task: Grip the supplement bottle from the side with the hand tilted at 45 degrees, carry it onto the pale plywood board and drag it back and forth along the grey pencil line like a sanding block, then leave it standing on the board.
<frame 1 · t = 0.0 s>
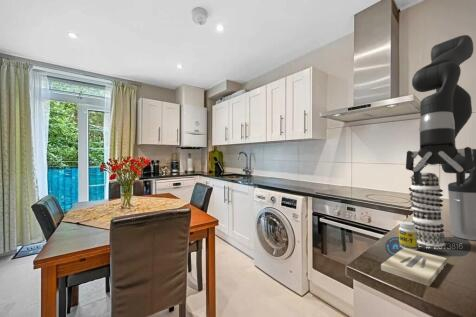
hand: (437, 185, 60), 22 cm above the worktop, tool pointing down, fingers open, 8 cm apart
supplement bottle: (408, 248, 72), on the worktop
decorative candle: (428, 242, 76), on the worktop
board: (414, 266, 59), on the worktop
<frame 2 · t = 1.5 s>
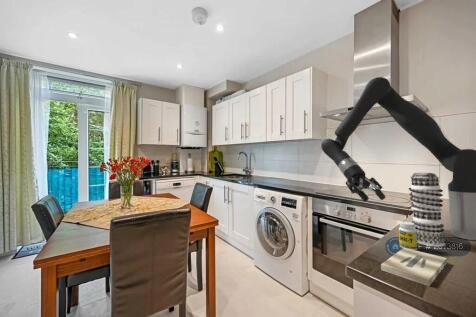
hand: (375, 199, 83), 15 cm above the worktop, tool tilted 45°, fingers open, 8 cm apart
nothing on the worktop moved.
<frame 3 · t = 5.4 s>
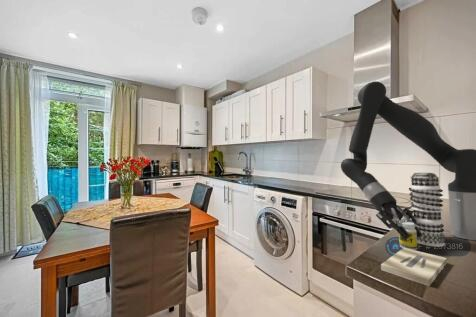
hand: (413, 237, 70), 4 cm above the worktop, tool tilted 45°, fingers closed on supplement bottle, 4 cm apart
supplement bottle: (408, 248, 72), on the worktop, touching gripper
everything else where it was.
when the fingers open (6 cm above the worktop, at t = 15.9 s): supplement bottle stays where it is, resting on board.
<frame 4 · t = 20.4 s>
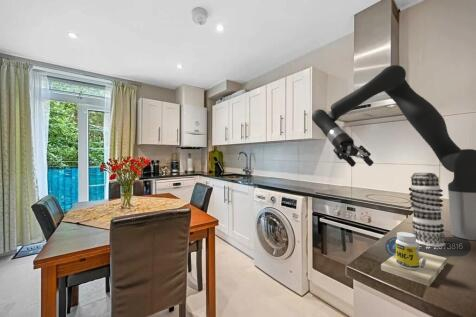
hand: (363, 164, 81), 29 cm above the worktop, tool tilted 45°, fingers open, 8 cm apart
supplement bottle: (407, 266, 56), point 1 cm above the worktop, touching board
everything else where it was.
at the end: supplement bottle inside the target area on the board (4.9 cm from its centre), point 1.4 cm above the board's base; supplement bottle tilted 0°; the gripper is holding nothing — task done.
